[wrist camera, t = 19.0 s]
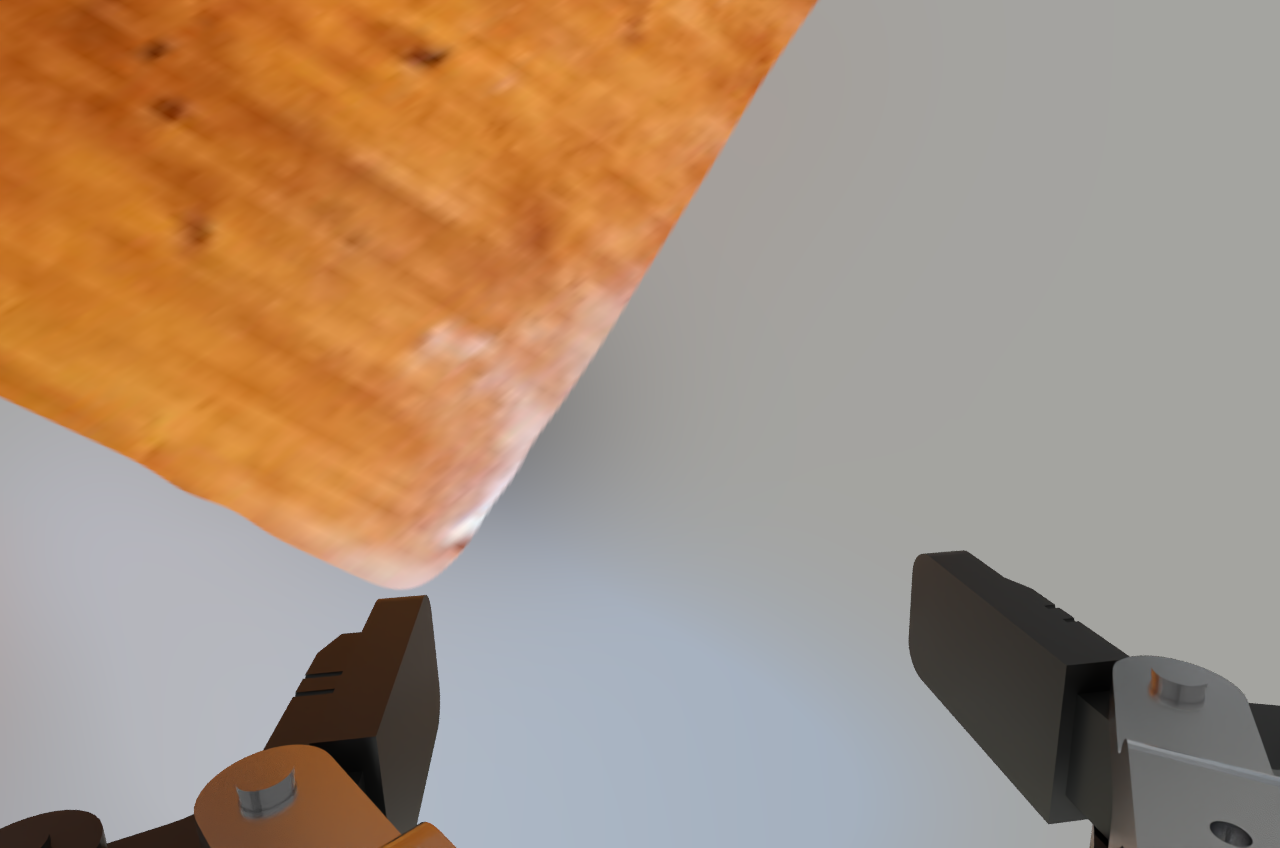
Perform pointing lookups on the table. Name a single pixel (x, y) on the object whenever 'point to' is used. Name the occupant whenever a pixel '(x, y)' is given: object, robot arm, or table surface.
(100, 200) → the table surface
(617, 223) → the table surface
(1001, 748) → the robot arm
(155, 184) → the table surface
